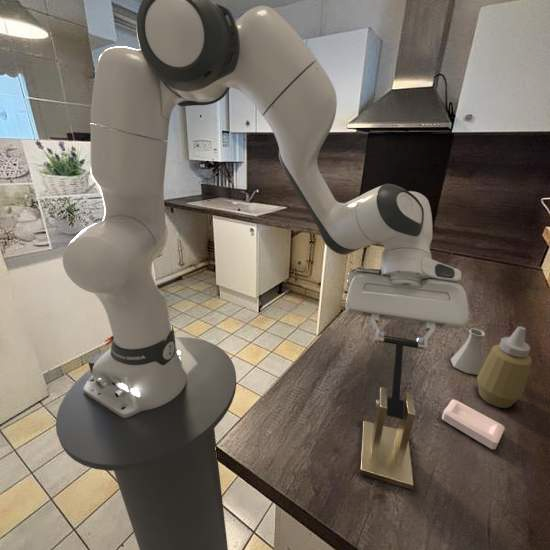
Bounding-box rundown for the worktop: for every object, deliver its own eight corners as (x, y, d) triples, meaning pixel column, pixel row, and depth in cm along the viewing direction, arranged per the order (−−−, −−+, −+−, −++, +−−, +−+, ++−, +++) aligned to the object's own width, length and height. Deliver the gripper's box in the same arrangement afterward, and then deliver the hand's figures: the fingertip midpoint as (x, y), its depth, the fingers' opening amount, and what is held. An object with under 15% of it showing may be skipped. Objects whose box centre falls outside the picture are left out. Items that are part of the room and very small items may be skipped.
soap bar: (450, 405, 61) (453, 397, 60) (502, 434, 55) (506, 425, 54) (440, 420, 58) (443, 411, 57) (494, 452, 52) (498, 443, 51)
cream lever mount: (362, 424, 57) (371, 373, 52) (406, 436, 55) (420, 383, 50) (360, 474, 48) (370, 418, 43) (412, 490, 46) (429, 433, 41)
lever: (382, 336, 53) (384, 333, 51) (415, 342, 52) (418, 339, 50) (375, 413, 49) (377, 413, 46) (411, 421, 47) (414, 422, 45)
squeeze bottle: (493, 381, 68) (518, 315, 61) (527, 409, 61) (560, 337, 53) (463, 387, 66) (486, 319, 59) (495, 416, 59) (525, 342, 52)
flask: (484, 379, 68) (496, 344, 64) (449, 368, 72) (459, 334, 68) (483, 362, 74) (494, 329, 70) (450, 352, 78) (460, 320, 74)
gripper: (349, 259, 55) (339, 331, 51) (472, 271, 49) (473, 354, 45) (348, 272, 61) (339, 337, 56) (458, 284, 55) (458, 358, 51)
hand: (400, 345), depth 51 cm, fingers closed on lever, 5 cm apart
